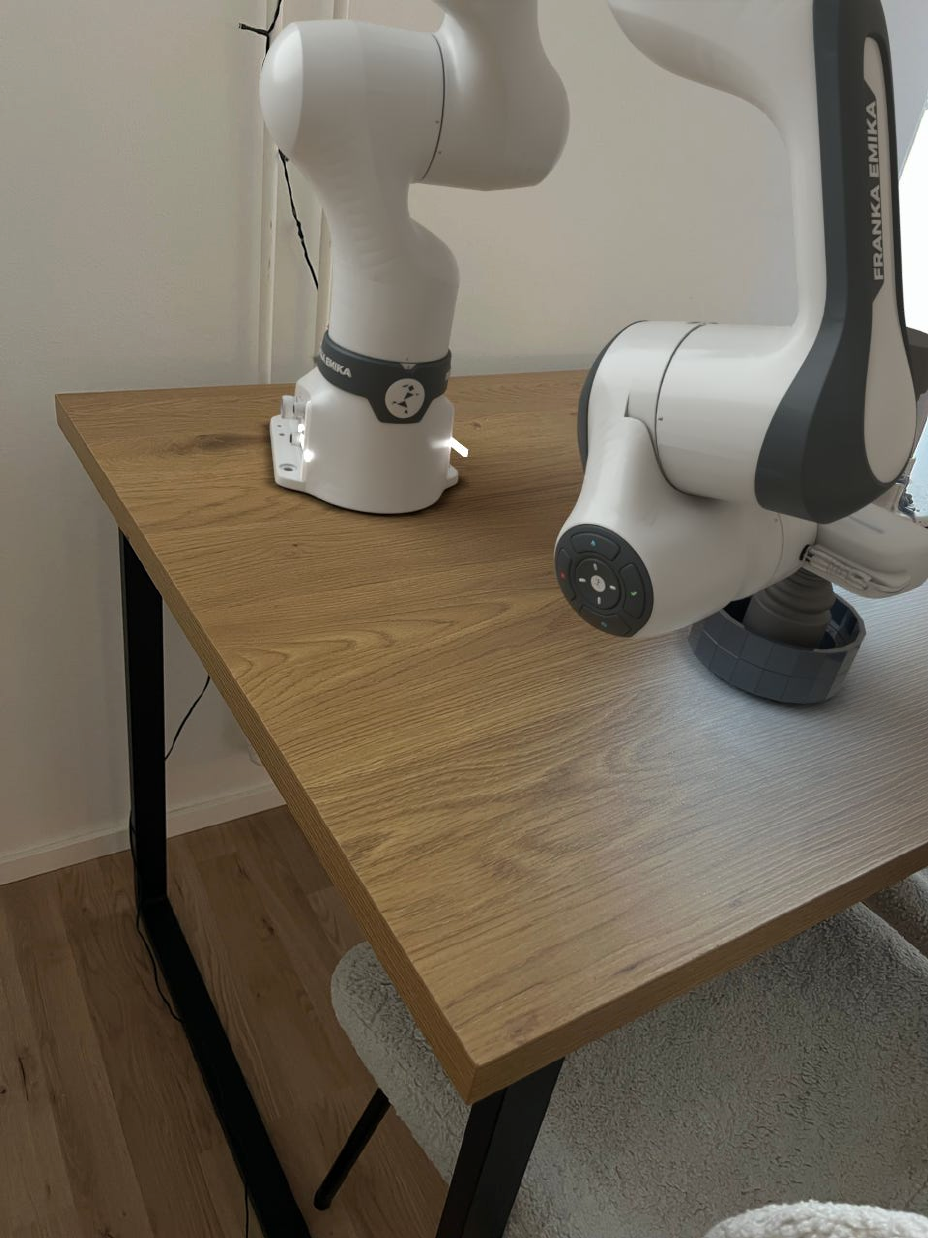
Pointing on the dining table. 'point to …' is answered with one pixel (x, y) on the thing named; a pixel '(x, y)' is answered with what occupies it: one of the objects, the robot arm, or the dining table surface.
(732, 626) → the bowl
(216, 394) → the dining table surface
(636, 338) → the robot arm
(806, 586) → the candle holder
